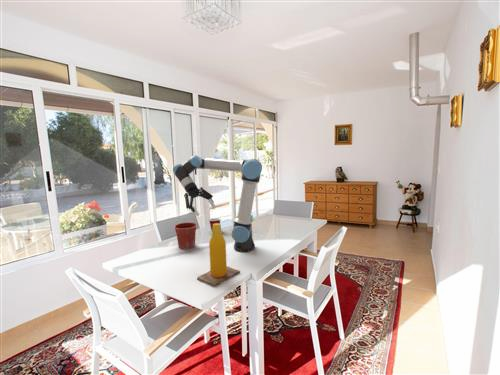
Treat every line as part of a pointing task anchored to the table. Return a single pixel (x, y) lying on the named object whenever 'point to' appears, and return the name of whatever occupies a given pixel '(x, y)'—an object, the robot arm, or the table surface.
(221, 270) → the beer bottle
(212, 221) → the plastic cup
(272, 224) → the table surface
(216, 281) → the walnut board
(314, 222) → the table surface
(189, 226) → the flower pot
